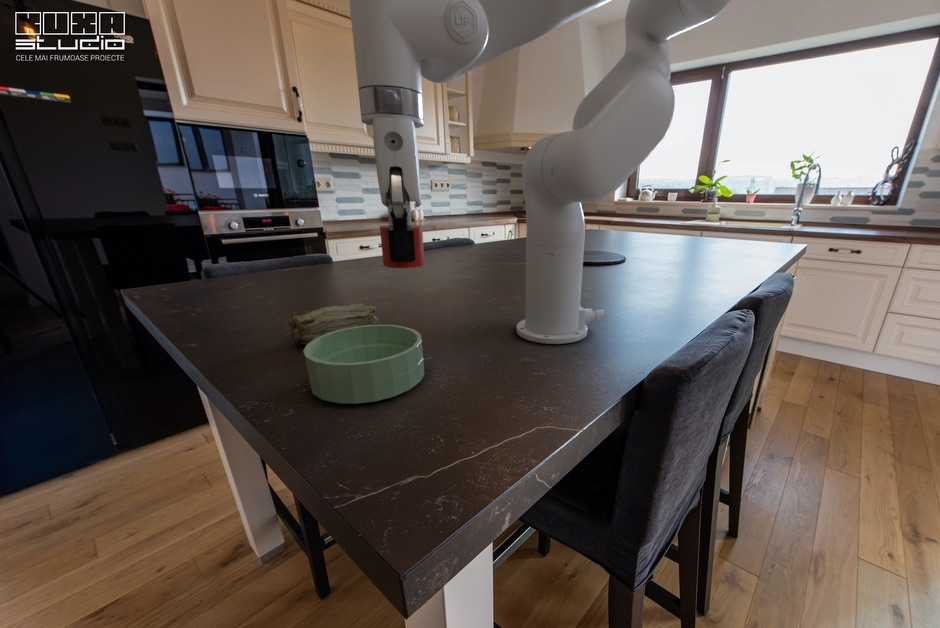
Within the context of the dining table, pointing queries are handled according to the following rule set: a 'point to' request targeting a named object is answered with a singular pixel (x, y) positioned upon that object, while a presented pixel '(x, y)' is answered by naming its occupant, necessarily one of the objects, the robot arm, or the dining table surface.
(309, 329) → the olive rough flat block
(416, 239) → the red squat cylinder
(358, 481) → the dining table surface
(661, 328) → the dining table surface
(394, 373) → the sage green round tray
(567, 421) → the dining table surface
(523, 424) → the dining table surface
